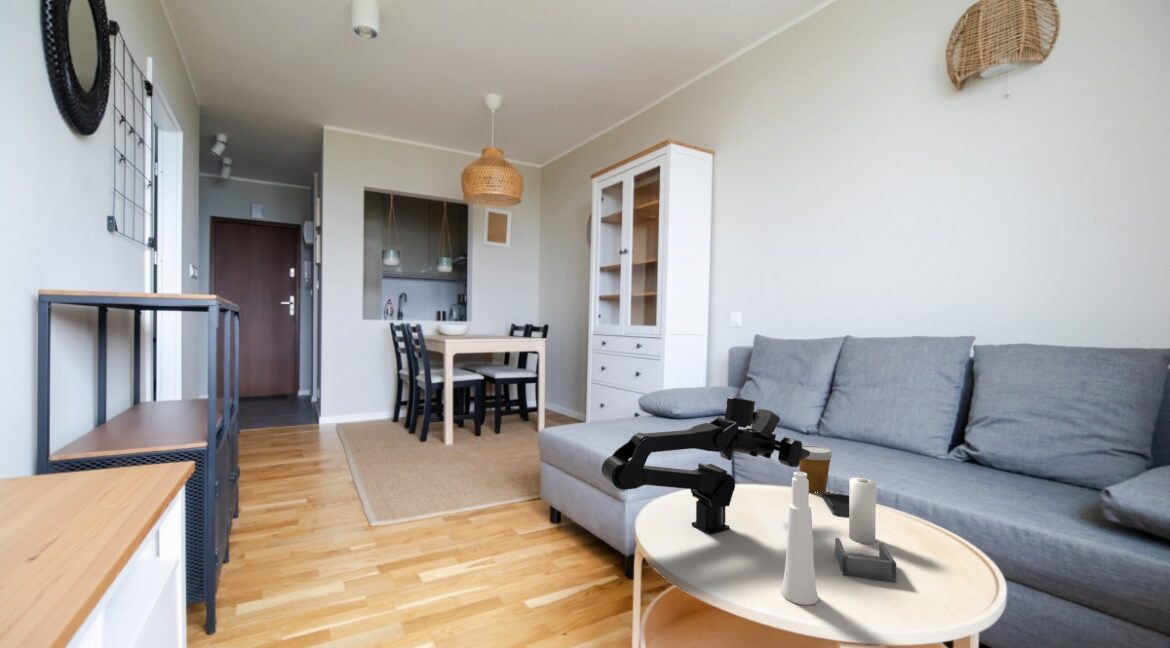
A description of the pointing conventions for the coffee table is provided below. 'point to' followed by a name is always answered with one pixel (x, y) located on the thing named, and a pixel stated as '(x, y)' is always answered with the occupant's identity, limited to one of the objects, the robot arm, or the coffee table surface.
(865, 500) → the paper roll
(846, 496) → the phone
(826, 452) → the disposable coffee cup
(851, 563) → the tray
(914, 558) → the coffee table surface
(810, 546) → the cosmetic bottle
